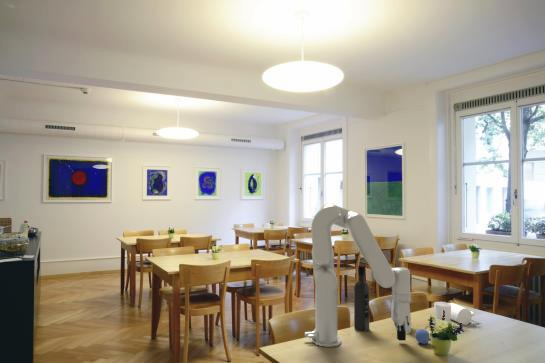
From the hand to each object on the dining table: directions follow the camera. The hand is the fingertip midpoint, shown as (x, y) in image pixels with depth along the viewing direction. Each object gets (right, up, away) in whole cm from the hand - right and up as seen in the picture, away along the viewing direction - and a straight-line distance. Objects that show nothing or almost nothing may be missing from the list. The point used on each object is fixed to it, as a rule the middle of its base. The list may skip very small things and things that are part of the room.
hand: (401, 339), depth 163 cm
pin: (+7, -2, +12) cm, 15 cm away
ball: (+9, +1, 0) cm, 9 cm away
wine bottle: (-13, -2, +17) cm, 22 cm away
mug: (+40, -3, +29) cm, 50 cm away
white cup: (+29, -3, +24) cm, 37 cm away
